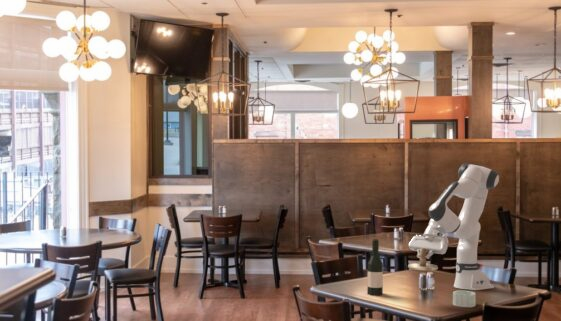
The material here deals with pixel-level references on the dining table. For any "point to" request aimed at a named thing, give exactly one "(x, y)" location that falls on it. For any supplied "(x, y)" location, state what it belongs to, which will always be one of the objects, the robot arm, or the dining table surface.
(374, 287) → the wine bottle
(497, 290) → the dining table surface
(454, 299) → the bowl
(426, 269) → the lid
